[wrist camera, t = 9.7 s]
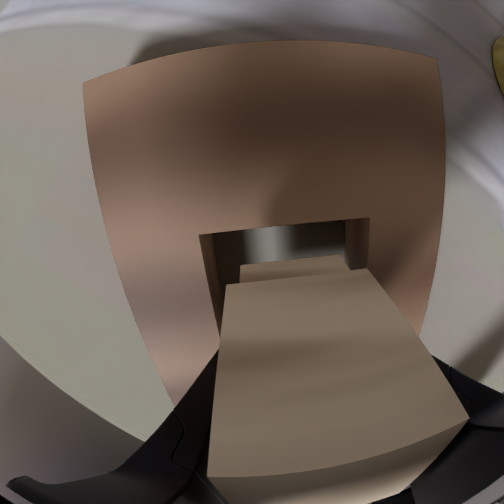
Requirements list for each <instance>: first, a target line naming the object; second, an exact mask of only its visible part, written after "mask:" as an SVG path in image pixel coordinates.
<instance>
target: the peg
mask: <svg viewBox="0 0 504 504" xmlns="http://www.w3.org/2000/svg"><path fill="white" fill-rule="evenodd" d="M468 420H469V416H468V414H467V412H466V411H465V409H464V407H463V405H462V404H461V402H460V400H459V399H458V397H457V395H456V394H455V392H454V390H453V389H452V387H451V385H450V384H449V382H448V381H447V379H446V377H445V376H444V374H443V373H442V371H441V370H440V368H439V367H438V365H437V363H436V362H435V360H434V359H433V357H432V356H431V354H430V353H429V351H428V350H427V348H426V347H425V346H424V344H423V343H422V341H421V340H420V338H419V337H418V335H417V334H416V333H415V331H414V330H413V328H412V327H411V326H410V324H409V323H408V321H407V320H406V319H405V317H404V316H403V314H402V313H401V312H400V310H399V309H398V308H397V306H396V305H395V304H394V302H393V301H392V300H391V298H390V297H389V296H388V294H387V293H386V292H385V291H384V289H383V288H382V287H381V285H380V284H379V283H378V282H377V280H376V279H375V278H374V276H373V275H372V274H371V273H370V271H369V270H368V269H367V268H365V269H357V270H350V269H349V268H348V266H347V265H346V263H345V262H344V261H343V259H342V258H341V256H340V255H339V254H337V255H328V256H319V257H310V258H301V259H292V260H283V261H274V262H265V263H256V264H246V265H240V283H237V284H227V285H226V292H225V301H224V309H223V318H222V326H221V335H220V344H219V353H218V362H217V372H216V382H215V391H214V402H213V412H212V423H211V434H210V445H209V457H208V469H207V477H208V479H209V480H210V481H211V482H212V484H213V485H214V486H215V487H216V489H217V490H218V491H219V492H220V494H221V495H222V496H223V497H224V498H225V500H226V501H227V502H228V503H229V504H367V503H370V502H374V501H377V500H380V499H383V498H387V497H389V496H392V495H395V494H398V493H400V492H401V491H402V490H403V489H405V488H406V487H407V486H408V485H409V484H410V483H411V482H412V481H413V480H415V479H416V478H417V477H418V476H419V475H420V474H421V473H422V472H423V471H424V470H425V469H426V468H427V467H428V466H429V465H430V464H431V463H432V462H433V461H434V460H435V459H436V458H437V457H438V455H439V454H440V453H441V452H442V451H443V450H444V449H445V448H446V447H447V445H448V444H449V443H450V442H451V441H452V440H453V438H454V437H455V436H456V435H457V434H458V432H459V431H460V430H461V429H462V427H463V426H464V425H465V423H466V422H467V421H468Z"/></svg>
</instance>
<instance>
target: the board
mask: <svg viewBox="0 0 504 504" xmlns="http://www.w3.org/2000/svg"><path fill="white" fill-rule="evenodd" d="M83 98H84V110H85V120H86V129H87V136H88V144H89V150H90V157H91V163H92V169H93V174H94V179H95V184H96V189H97V194H98V199H99V203H100V208H101V212H102V216H103V220H104V224H105V228H106V232H107V236H108V239H109V243H110V246H111V250H112V253H113V257H114V260H115V263H116V266H117V270H118V273H119V276H120V279H121V282H122V285H123V288H124V291H125V294H126V297H127V299H128V302H129V305H130V308H131V310H132V313H133V316H134V318H135V321H136V323H137V326H138V328H139V331H140V333H141V336H142V338H143V341H144V343H145V345H146V348H147V350H148V352H149V355H150V357H151V359H152V361H153V363H154V366H155V368H156V370H157V372H158V374H159V376H160V378H161V380H162V383H163V385H164V387H165V389H166V391H167V393H168V395H169V397H170V398H171V400H172V402H173V404H174V406H175V407H176V405H177V404H178V403H179V401H180V400H181V399H182V397H183V396H184V395H185V393H186V392H187V391H188V389H189V388H190V387H191V385H192V384H193V383H194V381H195V380H196V379H197V377H198V376H199V375H200V373H201V372H202V370H203V369H204V368H205V366H206V365H207V364H208V362H209V361H210V360H211V358H212V357H213V356H214V354H215V353H216V351H217V350H218V349H219V344H220V335H221V326H222V318H223V309H224V299H223V293H222V288H221V283H220V277H219V271H218V266H217V260H216V254H215V249H214V243H213V237H212V233H217V232H226V231H235V230H244V229H253V228H263V227H272V226H282V225H292V224H302V223H312V222H323V221H334V220H345V263H346V265H347V266H348V268H349V269H350V270H357V269H365V268H367V269H368V270H369V271H370V273H371V274H372V275H373V276H374V278H375V279H376V280H377V282H378V283H379V284H380V285H381V287H382V288H383V289H384V291H385V292H386V293H387V294H388V296H389V297H390V298H391V300H392V301H393V302H394V304H395V305H396V306H397V308H398V309H399V310H400V312H401V313H402V314H403V316H404V317H405V319H406V320H407V321H408V323H409V324H410V326H411V327H412V328H413V330H414V331H415V333H416V334H417V335H418V337H419V333H420V330H421V327H422V323H423V319H424V316H425V312H426V308H427V304H428V300H429V295H430V291H431V287H432V282H433V277H434V272H435V266H436V261H437V255H438V248H439V241H440V234H441V226H442V216H443V205H444V191H445V124H444V110H443V99H442V91H441V83H440V76H439V69H438V64H437V58H433V57H429V56H425V55H421V54H417V53H413V52H408V51H403V50H398V49H393V48H387V47H381V46H374V45H367V44H359V43H349V42H337V41H318V40H277V41H258V42H246V43H236V44H228V45H220V46H213V47H207V48H201V49H195V50H190V51H185V52H180V53H176V54H171V55H167V56H163V57H159V58H155V59H151V60H148V61H144V62H141V63H137V64H134V65H131V66H128V67H124V68H121V69H118V70H115V71H113V72H110V73H107V74H104V75H102V76H99V77H96V78H94V79H91V80H89V81H86V82H84V83H83Z"/></svg>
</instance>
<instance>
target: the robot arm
mask: <svg viewBox="0 0 504 504" xmlns="http://www.w3.org/2000/svg"><path fill="white" fill-rule="evenodd" d="M218 353H219V349H218V350H217V351H216V353H215V354H214V356H213V357H212V358H211V360H210V361H209V362H208V364H207V365H206V366H205V368H204V369H203V370H202V372H201V373H200V375H199V376H198V377H197V379H196V380H195V381H194V383H193V384H192V385H191V387H190V388H189V389H188V391H187V392H186V393H185V395H184V396H183V397H182V399H181V400H180V401H179V403H178V404H177V405H176V407H175V408H174V409H173V411H172V412H171V413H170V414H169V416H168V417H167V418H166V419H165V421H164V422H163V423H162V424H161V425H160V427H159V428H158V429H157V430H156V431H155V432H154V433H153V434H152V435H151V436H150V438H149V439H148V440H147V441H146V442H145V443H144V444H143V445H141V446H140V447H139V448H138V449H137V450H136V451H135V452H134V453H133V454H132V455H131V456H130V457H129V458H128V459H127V460H126V461H125V462H124V463H122V464H121V465H120V466H119V467H117V468H116V469H114V470H112V471H110V472H108V473H104V474H101V475H97V476H93V477H89V478H84V479H80V480H75V481H70V482H65V483H60V484H45V483H41V482H38V481H36V480H34V479H33V478H31V477H28V476H21V477H17V478H14V479H12V480H10V481H9V482H8V483H7V484H6V486H7V487H8V488H10V489H11V490H12V491H14V492H15V493H17V494H19V495H20V496H21V497H23V498H25V499H26V500H28V501H29V502H31V503H33V504H229V503H228V502H227V501H226V500H225V498H224V497H223V496H222V495H221V494H220V492H219V491H218V490H217V489H216V487H215V486H214V485H213V484H212V482H211V481H210V480H209V479H208V477H207V469H208V457H209V445H210V434H211V423H212V412H213V402H214V391H215V382H216V372H217V362H218ZM431 356H432V357H433V359H434V360H435V362H436V363H437V365H438V367H439V368H440V370H441V371H442V373H443V374H444V376H445V377H446V379H447V381H448V382H449V384H450V385H451V387H452V389H453V390H454V392H455V394H456V395H457V397H458V399H459V400H460V402H461V404H462V405H463V407H464V409H465V411H466V412H467V414H468V416H469V420H468V421H467V422H466V423H465V425H464V426H463V427H462V429H461V430H460V431H459V432H458V434H457V435H456V436H455V437H454V438H453V440H452V441H451V442H450V443H449V444H448V445H447V447H446V448H445V449H444V450H443V451H442V452H441V453H440V454H439V455H438V457H437V458H436V459H435V460H434V461H433V462H432V463H431V464H430V465H429V466H428V467H427V468H426V469H425V470H424V471H423V472H422V473H421V474H420V475H419V476H418V477H417V478H416V479H415V480H413V481H412V482H411V483H410V484H409V485H408V486H407V487H406V488H407V489H406V488H405V490H404V489H403V491H401V492H400V493H398V494H395V495H392V496H389V497H387V498H383V499H380V500H377V501H374V502H372V504H504V394H502V393H500V392H498V391H496V390H494V389H492V388H490V387H487V386H485V385H483V384H481V383H479V382H477V381H475V380H473V379H471V378H469V377H468V376H466V375H464V374H462V373H461V372H459V371H457V370H456V369H454V368H452V367H449V365H447V364H446V363H444V362H442V361H441V360H439V359H438V358H436V357H434V356H433V355H431ZM408 487H409V488H408ZM0 504H14V503H13V502H11V501H9V500H8V499H7V498H5V497H4V496H2V495H1V494H0Z"/></svg>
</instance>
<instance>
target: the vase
mask: <svg viewBox="0 0 504 504" xmlns="http://www.w3.org/2000/svg"><path fill="white" fill-rule="evenodd" d="M493 65H494V69H495V73H496V77H497V80H498V83H499V86H500V89H501V91H502V93H503V95H504V38H503V37H500V38H498V39H497V40H496V41H495V43H494V45H493Z"/></svg>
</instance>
